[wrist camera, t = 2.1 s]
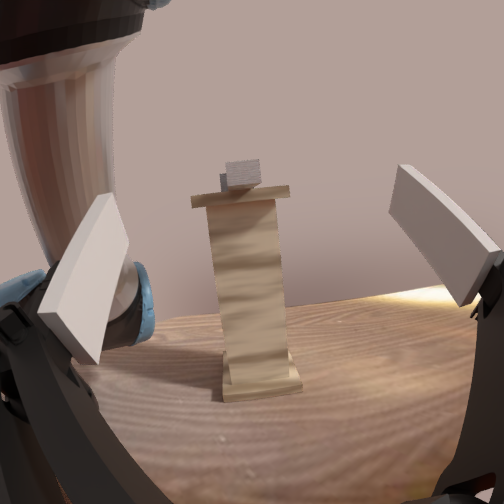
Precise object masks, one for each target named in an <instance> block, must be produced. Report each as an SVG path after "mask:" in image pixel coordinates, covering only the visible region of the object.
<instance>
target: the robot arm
mask: <svg viewBox="0 0 504 504" xmlns="http://www.w3.org/2000/svg"><path fill="white" fill-rule="evenodd" d="M170 1H171V0H0V103H1V110H2V116H3V122H4V127H5V133H6V138H7V142H8V147H9V151H10V155H11V159H12V163H13V167H14V171H15V174H16V178H17V181H18V184H19V188H20V191H21V194H22V197H23V200H24V203H25V206H26V209H27V212H28V214H29V217H30V220H31V223H32V225H33V228H34V231H35V233H36V236H37V238H38V240H39V243H40V245H41V248H42V250H43V252H44V254H45V257H46V259H47V261H48V263H49V265H50V267H51V268H50V269H49V271H48V273H47V275H46V274H45V273H44V271H43V270H42V269H39V270H36V271H32V272H28V273H26V274H23V275H20V276H18V277H16V278H13V279H11V280H9V281H7V282H4V283H3V284H1V285H0V504H66V503H65V501H64V498H63V496H62V493H61V490H60V488H59V485H58V482H57V479H58V481H59V482H60V484H61V486H62V488H63V489H64V491H65V492H66V494H67V496H68V497H69V499H70V500H71V502H72V503H73V504H173V503H172V502H171V501H170V500H169V499H168V498H167V497H166V496H165V495H164V494H163V493H162V492H161V490H160V489H159V488H158V487H157V486H156V485H155V484H154V483H153V482H152V481H151V479H150V478H149V477H148V476H147V475H146V474H145V473H144V471H143V470H142V469H141V468H140V467H139V465H138V464H137V463H136V462H135V461H134V459H133V458H132V457H131V456H130V454H129V453H128V452H127V450H126V449H125V448H124V446H123V445H122V444H121V442H120V441H119V440H118V438H117V437H116V436H115V434H114V433H113V431H112V430H111V429H110V427H109V426H108V424H107V423H106V421H105V420H104V418H103V417H102V415H101V414H100V412H99V411H98V410H99V405H98V402H97V399H96V397H95V395H94V393H93V391H92V389H91V388H90V387H89V386H88V384H87V383H86V382H85V381H84V380H83V379H82V377H81V376H80V375H79V374H78V372H77V371H76V370H75V369H74V367H73V366H72V364H71V362H70V361H71V357H74V358H75V359H76V360H77V362H78V363H79V364H81V365H98V364H99V359H100V354H101V351H105V350H110V349H115V348H119V347H124V346H133V345H136V344H137V343H140V342H143V341H146V340H148V339H150V338H151V336H152V335H153V332H154V327H155V315H154V311H153V297H152V292H151V287H150V283H149V279H148V275H147V272H146V270H145V268H144V266H143V265H142V264H141V263H139V262H133V261H132V259H131V258H130V257H129V256H128V255H127V254H126V252H127V248H128V245H129V240H128V237H127V234H126V231H125V228H124V226H123V223H122V220H121V217H120V214H119V211H118V208H117V203H116V191H115V177H114V157H113V93H114V92H113V91H114V74H115V61H116V57H117V55H118V54H119V52H120V51H121V50H122V49H123V48H124V47H126V46H127V45H128V44H129V43H130V42H131V41H133V40H134V39H135V38H136V37H137V36H139V35H140V33H141V28H142V22H143V17H144V11H145V9H151V10H156V9H157V8H161V7H164V6H166V5H167V4H168V3H169V2H170ZM389 214H390V215H391V216H392V217H393V218H394V220H395V221H396V222H397V223H398V224H399V225H400V227H401V228H402V229H403V230H404V232H405V233H406V234H407V235H408V236H409V238H410V239H411V240H412V242H413V243H414V244H415V246H416V247H417V248H418V249H419V251H420V252H421V253H422V255H423V256H424V257H425V259H426V260H427V261H428V263H429V264H430V265H431V267H432V268H433V269H434V271H435V272H436V274H437V275H438V276H439V278H440V279H441V281H442V282H443V284H444V285H445V286H446V288H447V289H448V291H449V292H450V294H451V295H452V297H453V298H454V300H455V301H456V303H457V305H458V306H459V308H460V307H462V306H465V305H468V304H471V303H472V302H473V300H474V298H475V297H476V295H477V293H478V292H479V294H480V295H481V297H482V298H481V299H480V301H479V303H478V304H477V306H476V307H475V309H474V310H473V312H472V313H471V316H470V318H473V316H474V315H475V313H478V315H477V317H476V318H475V320H477V321H478V325H477V341H476V352H475V361H474V369H473V377H472V383H471V389H470V395H469V400H468V405H467V410H466V415H465V419H464V423H463V427H462V431H461V435H460V439H459V442H458V446H457V449H456V452H455V455H454V458H453V460H452V461H451V463H450V464H449V465H448V466H447V467H446V469H445V470H444V471H443V473H442V474H441V476H440V478H439V480H438V482H437V485H436V487H435V489H434V492H433V494H432V496H431V497H429V498H424V499H418V500H412V501H406V502H403V503H401V504H504V252H503V251H502V250H501V249H500V248H499V246H498V245H497V244H496V243H495V242H494V241H493V240H492V239H491V238H490V237H489V236H488V234H486V233H485V231H484V230H483V229H482V228H480V226H479V225H478V224H477V223H476V222H475V221H474V220H473V219H472V218H470V217H469V216H468V215H467V214H466V213H465V212H464V211H463V210H462V209H461V208H460V207H459V206H458V205H457V204H456V203H455V202H454V201H453V200H452V199H450V198H449V197H448V196H447V195H446V194H445V193H444V192H442V191H441V190H440V189H439V188H438V187H437V186H436V185H434V184H433V183H432V182H431V181H430V180H428V179H427V178H426V177H425V176H424V175H422V174H421V173H420V172H419V171H418V170H416V169H415V168H414V167H412V166H411V165H398V169H397V174H396V180H395V185H394V190H393V195H392V200H391V205H390V209H389ZM1 392H2V393H3V394H4V395H5V401H3V400H2V398H1ZM55 475H56V476H55ZM56 477H57V479H56ZM490 488H494V489H493V493H492V496H491V498H490V501H489V503H487V502H484V501H482V500H481V499H479V498H476V497H474V496H475V495H476V494H477V493H479V492H480V491H484V490H487V489H490Z"/></svg>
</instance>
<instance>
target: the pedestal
mask: <svg viewBox="0 0 504 504" xmlns="http://www.w3.org/2000/svg"><path fill="white" fill-rule="evenodd" d="M288 197H290V191H289V186H288V185H286V186H275V187H264V188H255V189H244V190H235V191H226V192H218V193H210V194H202V195H195V196H191V203H192V208H198V207H206V212H207V220H208V228H209V236H210V245H211V252H212V260H213V267H214V274H215V281H216V287H217V294H218V302H219V309H220V315H221V322H222V328H223V334H224V340H225V346H226V351H223V400H224V403H225V402H236V401H245V400H253V399H261V398H268V397H275V396H281V395H287V394H293V393H299V392H303V384H302V382H301V379H300V377H299V374H298V372H297V369H296V367H295V364H294V362H293V360H292V357H291V355H290V352H289V350H288V344H287V329H286V316H285V303H284V290H283V278H282V268H281V255H280V245H279V234H278V224H277V214H276V204H275V199H278V198H288Z"/></svg>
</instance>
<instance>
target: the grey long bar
mask: <svg viewBox="0 0 504 504" xmlns="http://www.w3.org/2000/svg"><path fill="white" fill-rule="evenodd" d="M220 182H221V192H226V191H235V190H244V189H254V187H255V186H257V185H258V184H260V183H261V174H260V164H259V159H257V160H247V161H236V162H227V163H226V173H225V174H220Z"/></svg>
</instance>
